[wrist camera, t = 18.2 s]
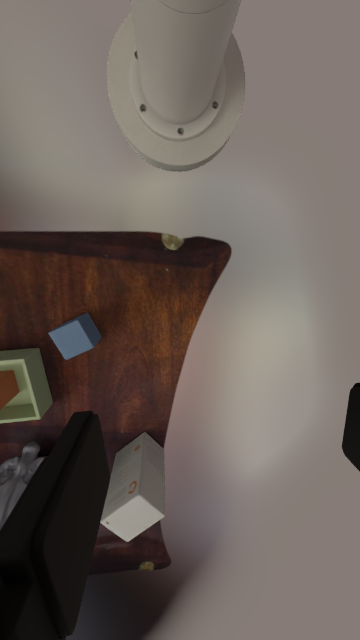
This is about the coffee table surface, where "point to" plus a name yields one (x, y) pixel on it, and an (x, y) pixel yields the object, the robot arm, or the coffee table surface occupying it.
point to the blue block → (76, 336)
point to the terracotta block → (7, 387)
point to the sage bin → (26, 385)
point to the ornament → (17, 478)
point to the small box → (135, 488)
